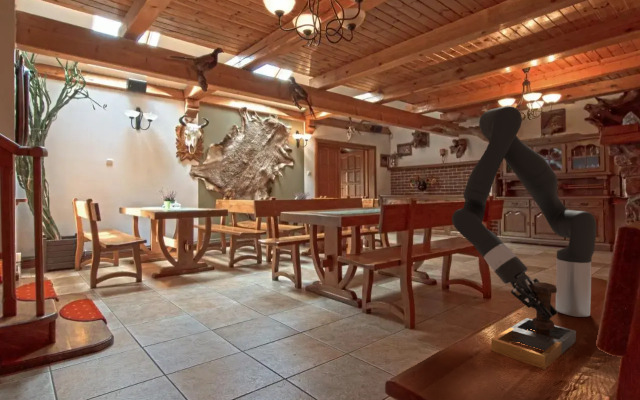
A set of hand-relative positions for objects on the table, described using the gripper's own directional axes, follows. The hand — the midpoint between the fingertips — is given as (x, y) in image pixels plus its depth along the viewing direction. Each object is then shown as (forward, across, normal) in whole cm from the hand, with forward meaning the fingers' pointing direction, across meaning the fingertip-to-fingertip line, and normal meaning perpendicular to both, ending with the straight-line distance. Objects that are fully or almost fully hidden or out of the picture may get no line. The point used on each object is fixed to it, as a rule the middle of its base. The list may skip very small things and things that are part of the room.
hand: (551, 316), depth 93 cm
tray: (+4, -6, +6) cm, 9 cm away
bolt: (+4, 0, +6) cm, 7 cm away
